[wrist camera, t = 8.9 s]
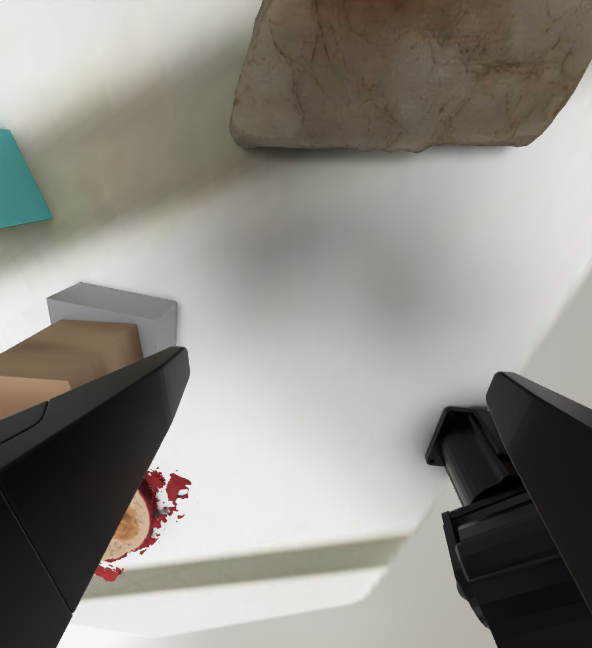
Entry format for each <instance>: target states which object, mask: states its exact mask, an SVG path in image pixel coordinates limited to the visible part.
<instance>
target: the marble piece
mask: <svg viewBox="0 0 592 648" xmlns="http://www.w3.org/2000/svg"><path fill="white" fill-rule="evenodd" d="M591 59H592V0H263V1H262V5H261V7H260V10H259V12H258V15H257V17H256V19H255V23H254V29H253V35H252V39H251V42H250V45H249V49H248V53H247V56H246V59H245V62H244V66H243V69H242V73H241V75H240V77H239V82H238V86H237V88H236V90H235V99H234V102H233V110H232V114H231V118H230V133H231V136H232V138H233V139H234V141H235V142H236V143H237V144H238V145H240V146H241V147H243V148H244V149H249V148H256V147H286V148H294V149H297V148H308V149H326V148H330V149H352V150H356V151H366V152H369V151H371V150H382V151H387V152H392V151H403V150H405V151H409V152H414V153H419V152H422V151H424V150H425V149H427V148H429V147H430V146H432V145H444V144H448V145H476V146H496V145H498V146H514V147H522V146H527V145H529V144H530V143H531V142H533V141H534V140H535V139H536V138H538V137H539V136H540V135H541V134H542V133H543V132H544V131H545V130H546V129H547V128H548V126H549V125H550V124H551V123H552V122H553V120H554V119H555V117H556V116H557V114H558V113H559V112H560V110H561V109H562V108H563V107H564V106H565V104H566V103H567V101H568V100H569V98H570V97H571V95H572V94H573V93H574V91H575V89H576V87H577V85H578V84H579V82H580V80H581V78H582V76H583V74H584V73H585V71H586V69H587V67H588V65H589V63H590V61H591Z"/></svg>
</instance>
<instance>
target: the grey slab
mask: <svg viewBox="0 0 592 648" xmlns="http://www.w3.org/2000/svg"><path fill="white" fill-rule="evenodd" d="M47 304H48V309H49V315H50V320H51V325H52V324H54V323H56V322H57V321H59V320H61V319H65V320H80V321H95V322H110V323H125V324H136V326H137V330H138V335H139V340H140V344H141V349H142V353H143V358H145V357H148V356H150V355H152V354H155V353H157V352H159V351H162V350H164V349H166V348H168V347H171V346H176V318H177V302H175V301H170V300H166V299H161V298H156V297H151V296H146V295H141V294H136V293H131V292H126V291H121V290H116V289H112V288H107V287H102V286H97V285H92V284H87V283H82V282H80V283H78V284H76V285H74V286H72V287H69V288H67V289H65V290H63V291H61V292H59V293H57V294H54V295H52V296H50V297H48V298H47Z"/></svg>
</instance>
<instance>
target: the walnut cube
mask: <svg viewBox="0 0 592 648" xmlns="http://www.w3.org/2000/svg"><path fill="white" fill-rule="evenodd" d="M141 359H143V353H142V349H141V344H140V340H139V335H138V330H137V326H136V324H125V323H110V322H95V321H80V320H65V319H61V320H59V321H57V322H56V323H54V324H52V325H50V326H49V327H47V328H45V329H43V330H42V331H40V332H38V333H36V334H35V335H33V336H31V337H29V338H28V339H26V340H24V341H22V342H21V343H19V344H17V345H15V346H14V347H12V348H10V349H8V350H7V351H5V352H3V353H1V354H0V420H2V419H4V418H7V417H9V416H11V415H14V414H16V413H18V412H21V411H23V410H26V409H28V408H30V407H33V406H35V405H37V404H40V403H42V402H44V401H49V400H50V399H51V398H54V397H56V396H58V395H60V394H63V393H65V392H67V391H70V390H72V389H74V388H77V387H79V386H81V385H83V384H86V383H88V382H90V381H93V380H95V379H97V378H100V377H102V376H104V375H106V374H109V373H111V372H113V371H116V370H118V369H120V368H122V367H125V366H127V365H129V364H132V363H134V362H136V361H139V360H141Z"/></svg>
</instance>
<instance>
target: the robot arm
mask: <svg viewBox="0 0 592 648" xmlns="http://www.w3.org/2000/svg"><path fill="white" fill-rule="evenodd" d="M189 376H190V367H189V359H188V352H187V349H186V348H185V347H179V346H171V347H168V348H166V349H164V350H162V351H159V352H157V353H155V354H152V355H150V356H148V357H145V358H143V359H141V360H139V361H136V362H134V363H132V364H129V365H127V366H125V367H122V368H120V369H118V370H116V371H113V372H111V373H109V374H106V375H104V376H102V377H100V378H97V379H95V380H93V381H90V382H88V383H86V384H83V385H81V386H79V387H77V388H74V389H72V390H70V391H67V392H65V393H63V394H60V395H58V396H56V397H54V398H51V399H50V400H49V401H44V402H42V403H40V404H37V405H35V406H33V407H30V408H28V409H26V410H23V411H21V412H18V413H16V414H14V415H11V416H9V417H7V418H4V419H2V420H0V648H56V647H57V645H58V643H59V641H60V639H61V637H62V635H63V633H64V631H65V629H66V628H67V626H68V624H69V622H70V620H71V618H72V613H73V612H74V611H75V610H76V608H77V606H78V604H79V602H80V600H81V598H82V596H83V594H84V592H85V590H86V588H87V586H88V584H89V582H90V581H91V579H92V577H93V575H94V573H95V571H96V569H97V567H98V565H99V563H100V561H101V559H102V557H103V555H104V553H105V552H106V550H107V548H108V546H109V544H110V542H111V540H112V538H113V536H114V534H115V532H116V530H117V528H118V526H119V524H120V523H121V521H122V519H123V517H124V515H125V513H126V511H127V509H128V507H129V505H130V503H131V501H132V499H133V497H134V495H135V493H136V492H137V490H138V488H139V486H140V484H141V482H142V480H143V478H144V476H145V474H146V472H147V470H148V468H149V466H150V464H151V463H152V461H153V459H154V457H155V455H156V453H157V451H158V449H159V447H160V445H161V443H162V441H163V439H164V437H165V435H166V434H167V432H168V430H169V428H170V426H171V423H172V421H173V419H174V416H175V414H176V411H177V409H178V406H179V403H180V401H181V398H182V395H183V393H184V390H185V387H186V385H187V382H188V379H189ZM486 402H487V405H488V407H489V410H490V411H481V410H471V409H462V408H447V409H446V410H445V411H444V413H443V415H442V418H441V420H440V422H439V425H438V427H437V430H436V432H435V435H434V437H433V440H432V442H431V444H430V447H429V449H428V452H427V454H426V457H425V459H426V462H427V464H429V465H435V466H445V469H446V471H447V473H448V475H449V477H450V480H451V482H452V484H453V486H454V489H455V491H456V493H457V495H458V497H459V500H460V502H461V504H462V507H461V508H458V509H455V510H453V511H450V512H449V511H446V512H444V513H442V519H443V523H444V525H443V527H444V532H445V536H446V541H447V545H448V549H449V553H450V557H451V562H452V566H453V570H454V575H455V578H456V582H457V589H458V592H459V593H460V595H461V597H462V598H464V599H465V600H467V601H468V602H469V604H470V605H471V607H472V609H473V611H474V612H475V614H476V616H477V617H478V618H479V620H480V621H481V623H482V624H483V625H484V626H485V627H487V628H488V629H490V630H491V632H492V634H493V637H494V640H495V642H496V645H497V647H498V648H592V409H590V408H587V407H585V406H583V405H581V404H579V403H577V402H575V401H573V400H570V399H568V398H566V397H564V396H562V395H560V394H558V393H556V392H554V391H552V390H550V389H547V388H545V387H543V386H541V385H539V384H537V383H534V382H533V381H530V380H528V379H526V378H524V377H522V376H520V375H518V374H516V373H513V372H502V371H500V372H497V373H496V374H495V375H494V377H493V379H492V382H491V384H490V386H489V389H488V391H487V394H486ZM451 413H452V414H451Z"/></svg>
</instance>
